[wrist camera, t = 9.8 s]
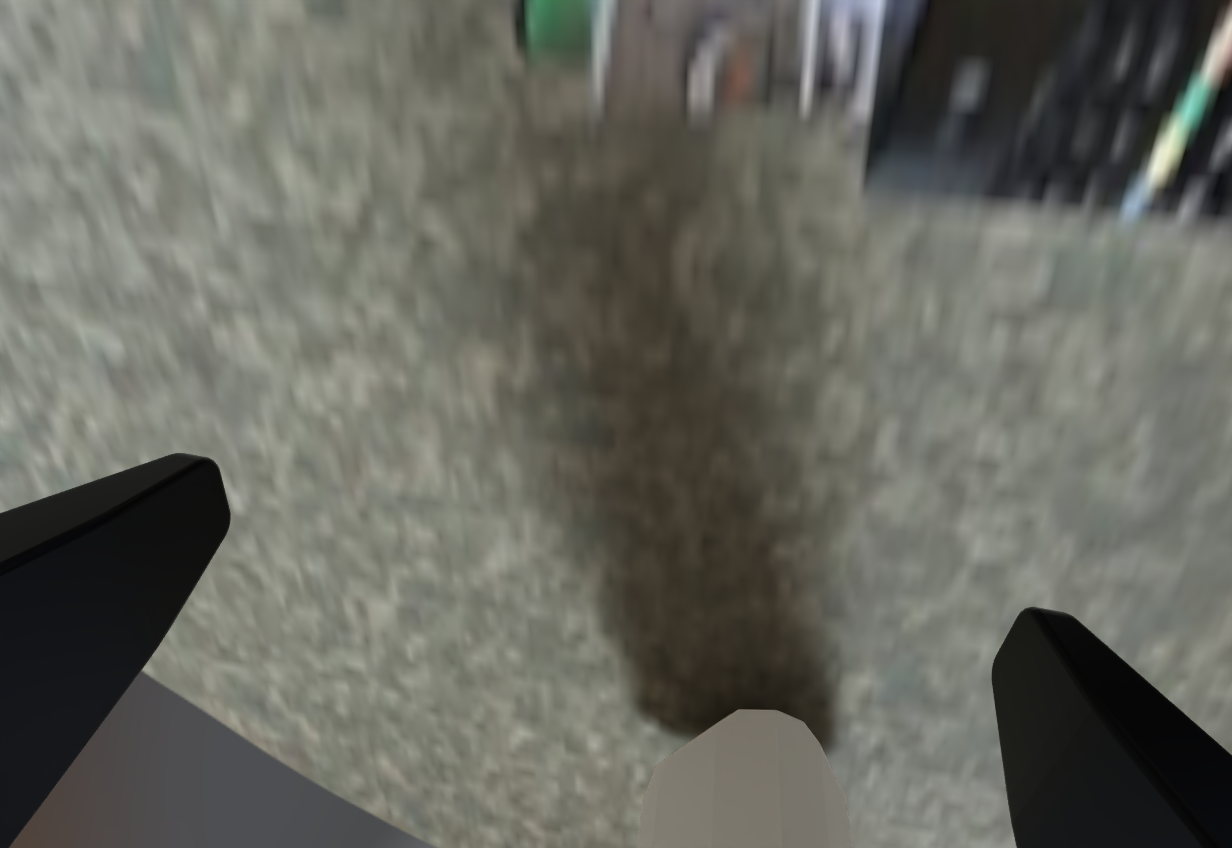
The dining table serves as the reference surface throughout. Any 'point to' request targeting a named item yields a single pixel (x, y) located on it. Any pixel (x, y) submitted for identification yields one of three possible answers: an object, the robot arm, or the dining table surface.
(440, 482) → the dining table surface
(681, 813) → the crystal
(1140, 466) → the dining table surface
